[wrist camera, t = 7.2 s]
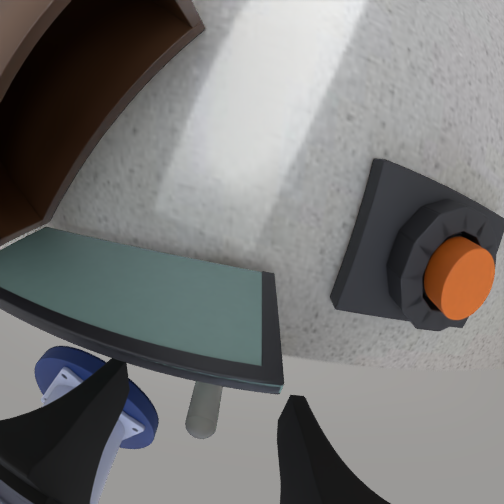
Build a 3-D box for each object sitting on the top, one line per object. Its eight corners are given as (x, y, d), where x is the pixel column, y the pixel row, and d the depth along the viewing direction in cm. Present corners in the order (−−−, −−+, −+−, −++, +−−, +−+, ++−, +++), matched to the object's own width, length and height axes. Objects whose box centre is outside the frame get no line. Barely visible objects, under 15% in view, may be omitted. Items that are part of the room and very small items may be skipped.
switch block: (329, 297, 15) (342, 329, 12) (373, 157, 12) (401, 160, 9) (453, 318, 15) (475, 343, 12) (495, 215, 12) (525, 228, 10)
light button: (412, 297, 12) (428, 317, 10) (440, 227, 10) (462, 239, 9) (457, 306, 12) (474, 323, 10) (483, 245, 11) (504, 257, 9)
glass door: (253, 354, 15) (248, 463, 8) (54, 302, 14) (-10, 365, 8) (274, 273, 13) (285, 383, 6) (46, 225, 12) (-42, 273, 6)
